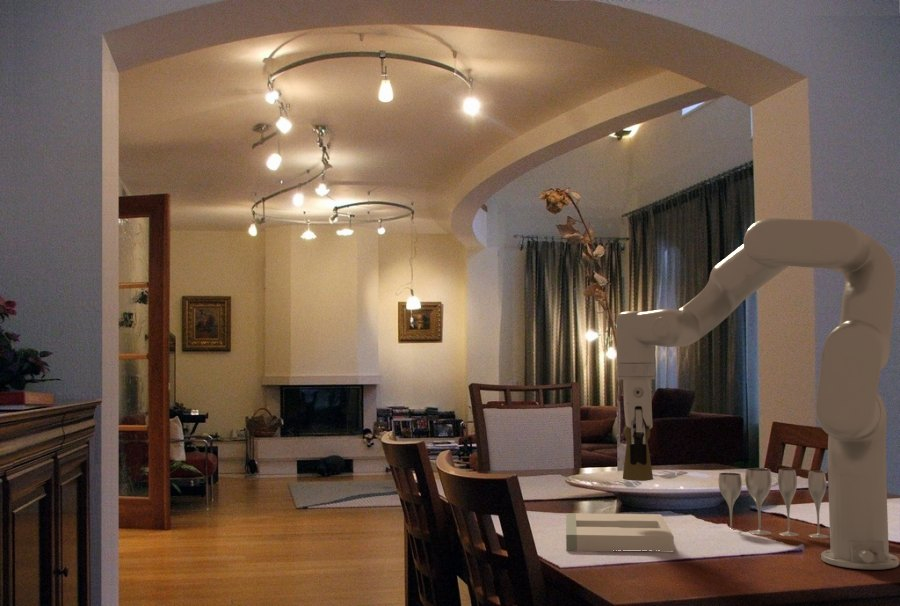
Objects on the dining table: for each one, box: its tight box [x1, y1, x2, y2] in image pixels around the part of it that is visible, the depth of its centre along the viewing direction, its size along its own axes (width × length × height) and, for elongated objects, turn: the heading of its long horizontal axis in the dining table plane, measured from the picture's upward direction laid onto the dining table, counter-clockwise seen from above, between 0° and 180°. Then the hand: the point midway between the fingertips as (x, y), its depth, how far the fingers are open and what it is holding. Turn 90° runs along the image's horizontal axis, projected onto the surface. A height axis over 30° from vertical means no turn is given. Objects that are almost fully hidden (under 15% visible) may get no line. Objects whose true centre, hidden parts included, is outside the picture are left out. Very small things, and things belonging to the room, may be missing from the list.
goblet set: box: [718, 467, 830, 539], centre depth 192 cm, size 28×6×13 cm, turn 67°
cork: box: [622, 425, 654, 482], centre depth 189 cm, size 6×6×11 cm
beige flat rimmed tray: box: [565, 512, 675, 552], centre depth 188 cm, size 24×20×3 cm
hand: (637, 462), depth 189 cm, fingers closed on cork, 3 cm apart
